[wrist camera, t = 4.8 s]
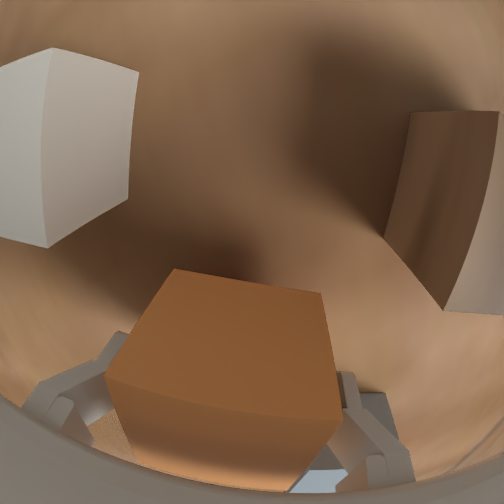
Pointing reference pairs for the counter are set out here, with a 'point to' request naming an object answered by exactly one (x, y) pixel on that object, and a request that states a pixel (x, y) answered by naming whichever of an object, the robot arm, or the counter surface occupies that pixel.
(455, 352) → the counter surface
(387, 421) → the slate cube
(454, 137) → the walnut cube
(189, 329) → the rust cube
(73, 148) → the grey cube
